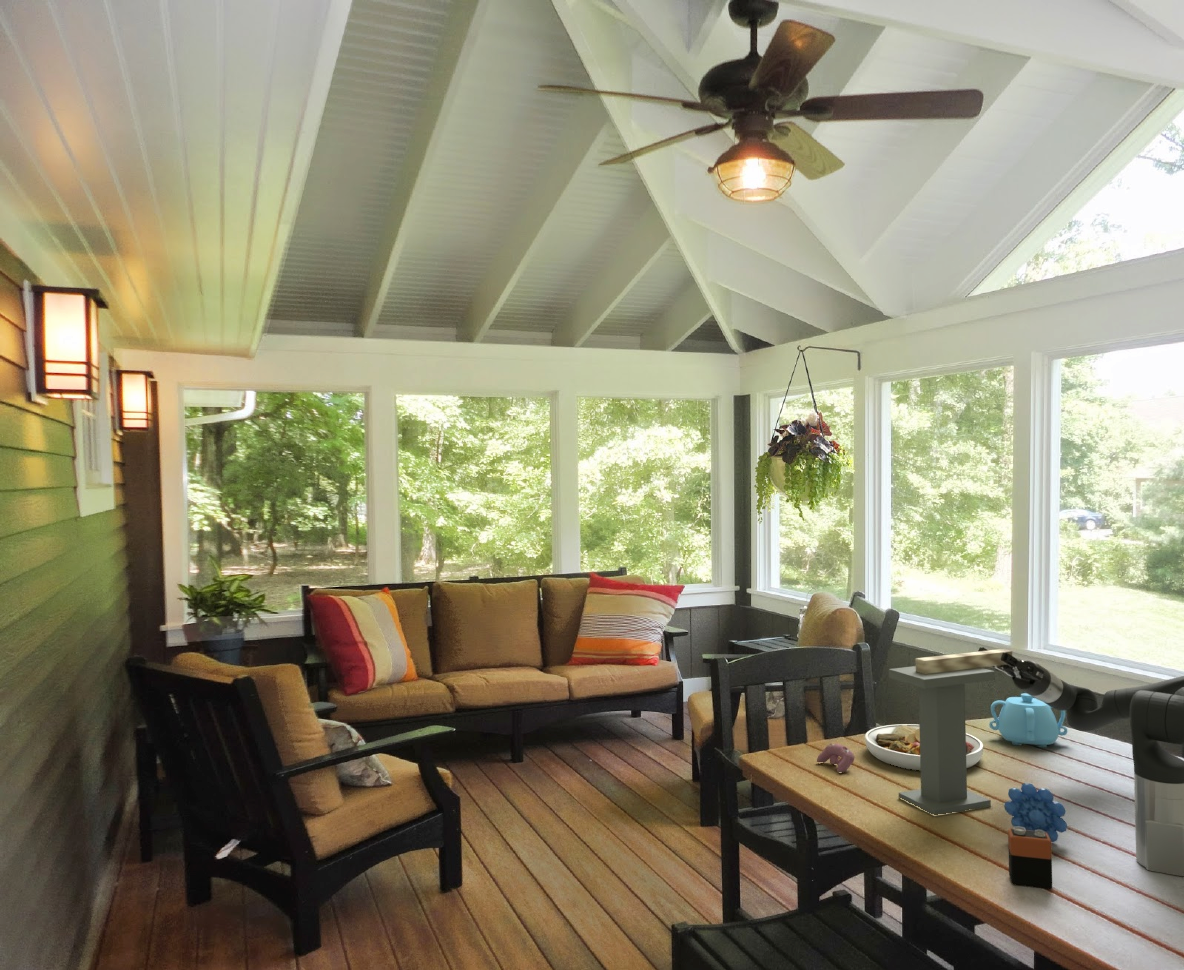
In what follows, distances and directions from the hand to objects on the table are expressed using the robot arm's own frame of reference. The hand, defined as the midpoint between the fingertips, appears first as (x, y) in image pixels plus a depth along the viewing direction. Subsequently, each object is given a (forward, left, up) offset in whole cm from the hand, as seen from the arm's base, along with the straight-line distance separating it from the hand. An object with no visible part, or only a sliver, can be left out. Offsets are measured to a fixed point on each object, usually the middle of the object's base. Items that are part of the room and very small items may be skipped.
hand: (991, 653), depth 205 cm
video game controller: (+2, +38, -34) cm, 51 cm away
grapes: (-26, -10, -34) cm, 44 cm away
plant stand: (-11, +10, -34) cm, 37 cm away
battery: (-46, -10, -34) cm, 58 cm away
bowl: (+22, +20, -34) cm, 45 cm away
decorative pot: (+49, -4, -34) cm, 59 cm away
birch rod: (-6, +5, -3) cm, 8 cm away
